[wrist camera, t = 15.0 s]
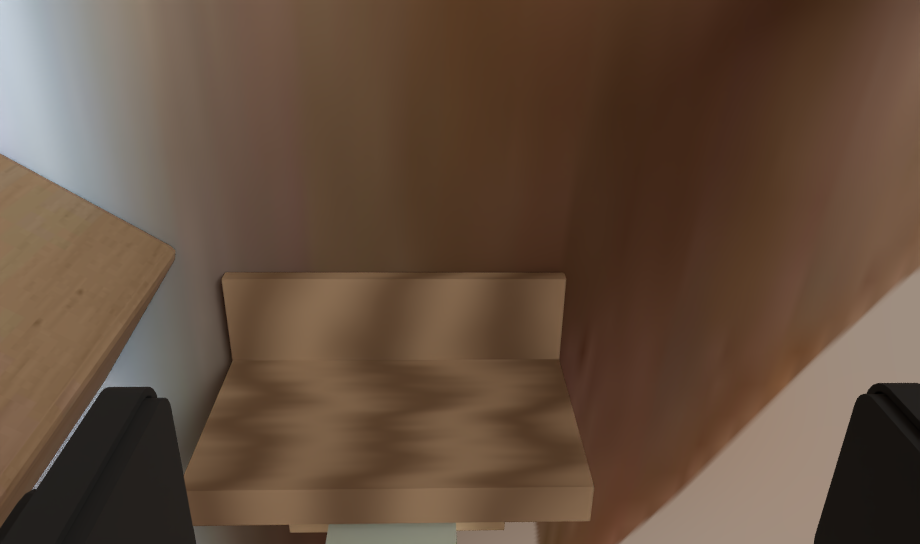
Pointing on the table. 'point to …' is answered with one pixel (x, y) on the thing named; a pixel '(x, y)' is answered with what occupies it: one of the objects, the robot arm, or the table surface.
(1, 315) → the wooden block
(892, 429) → the robot arm
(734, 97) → the table surface
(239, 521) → the brown box
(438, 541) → the cabinet
